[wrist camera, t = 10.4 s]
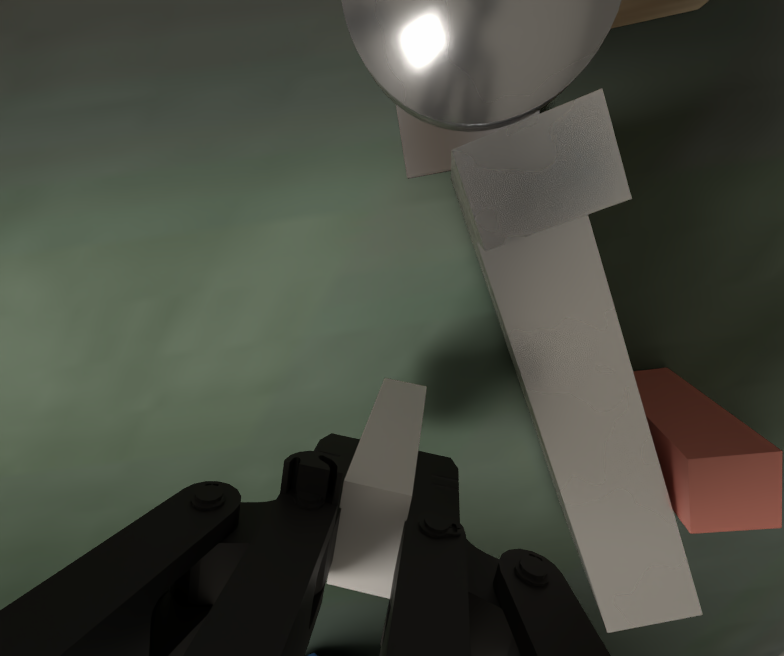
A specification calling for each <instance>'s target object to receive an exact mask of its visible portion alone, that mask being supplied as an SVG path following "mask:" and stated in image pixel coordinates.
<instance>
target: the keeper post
mask: <svg viewBox="0 0 784 656" xmlns="http://www.w3.org/2000/svg"><path fill="white" fill-rule="evenodd" d="M633 373H634V377H635V380H636V384H637V387H638V391H639V394H640V398H641V401H642V405H643V408H644V412H645V415H646V419H647V422H648V426H649V429H650V432H651V436H652V439H653V443H654V446H655V450H656V453H657V457H658V460H659V464H660V467H661V471H662V474H663V478H664V481H665V485H666V488H667V492H668V495H669V499H670V502H671V506H672V509H673V511H674V512H675V513H676V515H677V516H678V517H679V519H680V520H681V521H682V523H683V524H684V525H685V527H686V528H687V529H688V531H689V532H690V534H694V533H709V532H725V531H740V530H755V529H771V528H782V451H781V450H780V449H779V448H777V447H776V446H775V445H773V444H772V443H770V442H769V441H768V440H766V439H765V438H764V437H762V436H761V435H759V434H758V433H757V432H755V431H754V430H753V429H751V428H750V427H748V426H747V425H746V424H744V423H743V422H741V421H740V420H739V419H737V418H736V417H735V416H733V415H732V414H730V413H729V412H728V411H726V410H725V409H724V408H722V407H721V406H719V405H718V404H717V403H715V402H714V401H713V400H711V399H710V398H708V397H707V396H706V395H704V394H703V393H702V392H700V391H699V390H697V389H696V388H695V387H693V386H692V385H690V384H689V383H688V382H686V381H685V380H684V379H682V378H681V377H679V376H678V375H677V374H675V373H674V372H673V371H671V370H670V369H668V368H658V369H650V370H641V371H633Z"/></svg>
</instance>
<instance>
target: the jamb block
mask: <svg viewBox="0 0 784 656" xmlns="http://www.w3.org/2000/svg"><path fill="white" fill-rule="evenodd" d="M708 1H709V0H622V1H621V4H620V7H619V10H618V13H617V15H616V17H615V20H614V22H613V24H612V26H611V29H612V28H616V27H621V26H625V25H630V24H634V23H639V22H643V21H648V20H652V19H657V18H662V17H666V16H671V15H675V14H680V13H684V12H689V11H693V10H698V9H699V8H700V7H702V6H703V5H704V4H705V3H707V2H708ZM396 109H397V115H398V121H399V128H400V134H401V141H402V147H403V154H404V160H405V166H406V173H407V178H408V179H409V178H414V177H420V176H425V175H430V174H436V173H441V172H446V171H451V150H452V149H454V148H457V147H459V146H462V145H464V144H467V143H469V142H472V141H474V140H476V139H479V138H481V137H484V136H486V135H489V134H491V133H494V132H496V131H499V130H501V129H503V128H506V127H508V126H511V125H513V124H516V123H518V122H521V121H523V120H526V119H528V118H530V117H533V116H535V115H538V114H540V112H539V111H537V112H536V113H534V114H532V115H531V116H529V117H527V118H524V119H522V120H520V121H518V122H516V123H513V124H510V125H507V126H504V127H501V128H497V129H492V130H486V131H474V132H464V131H452V130H448V129H443V128H439V127H435V126H433V125H430V124H428V123H425V122H422V121H420V120H419V119H417V118H415V117H413V116H411V115H410V114H408V113H407V112H405V111H404V110H403V109H401V108H400V107H399V106H397V105H396Z"/></svg>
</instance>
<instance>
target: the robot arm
mask: <svg viewBox="0 0 784 656" xmlns="http://www.w3.org/2000/svg"><path fill="white" fill-rule="evenodd" d="M426 389H427V386H422V385H418V384H413V383H408V382H403V381H398V380H393V379H389V378H384V380H383V383H382V386H381V388H380V391H379V393H378V396H377V398H376V401H375V403H374V406H373V408H372V411H371V413H370V416H369V418H368V421H367V424H366V426H365V429H364V431H363V434H362V436H361V439H355V438H350V437H346V436H341V435H337V434H332V433H331V434H330V435H328V436H326V437H324V438H323V439H321V440H320V441H319V443H318V444H317V446H316V448H315V450H314V451H304V452H298V453H295V454H292V455H290V456H289V457H288V458H287V459H285V460H284V467H283V475H282V483H281V491H280V494H279V496H278V498H277V499H276V500H273V501H268V502H241V495H240V493H239V492H238V490H237V489H236V488H234V487H233V486H231V485H230V484H226V483H222V482H217V481H205V482H201V483H196V484H193V485H191V486H188V487H186V488H184V489H183V490H181V491H180V492H178V493H177V494H175V495H174V496H172V497H171V498H169V499H167V500H166V501H164V502H163V503H161V504H160V505H158V506H157V507H155V508H154V509H152V510H151V511H149V512H148V513H146V514H145V515H143V516H142V517H140V518H139V519H137V520H136V521H134V522H133V523H131V524H130V525H128V526H127V527H125V528H124V529H122V530H121V531H119V532H118V533H116V534H115V535H113V536H112V537H110V538H109V539H107V540H106V541H104V542H103V543H101V544H100V545H98V546H97V547H95V548H94V549H92V550H91V551H89V552H88V553H86V554H85V555H83V556H82V557H80V558H79V559H77V560H76V561H74V562H73V563H71V564H70V565H68V566H67V567H65V568H64V569H62V570H61V571H59V572H58V573H56V574H54V575H53V576H51V577H50V578H48V579H47V580H45V581H44V582H42V583H41V584H39V585H38V586H36V587H35V588H33V589H32V590H30V591H29V592H27V593H26V594H24V595H23V596H21V597H20V598H18V599H17V600H15V601H14V602H12V603H11V604H9V605H8V606H6V607H5V608H3V609H2V610H0V656H305V653H306V650H307V647H308V643H309V640H310V637H311V634H312V631H313V628H314V625H315V622H316V619H317V616H318V613H319V610H320V607H321V603H322V599H323V592H324V586H325V582H326V579H327V576H328V580H327V584H330V585H335V586H339V587H343V588H347V589H351V590H355V591H359V592H364V593H368V594H372V595H376V596H380V597H384V598H389V599H390V600H389V605H388V610H387V614H386V619H385V624H384V629H383V633H382V638H381V643H380V645H381V650H380V656H610V654H609V652H608V651H607V649H606V647H605V646H604V644H603V642H602V640H601V639H600V637H599V635H598V634H597V632H596V630H595V629H594V627H593V625H592V624H591V622H590V620H589V619H588V617H587V615H586V613H585V612H584V610H583V608H582V607H581V605H580V603H579V602H578V600H577V598H576V597H575V595H574V593H573V591H572V590H571V588H570V586H569V585H568V583H567V581H566V580H565V578H564V576H563V575H562V573H561V572H560V571H559V570H558V568H557V567H556V566H555V565H554V564H553V563H552V562H550V561H549V560H548V559H546V558H545V557H543V556H541V555H539V554H537V553H535V552H532V551H528V550H523V549H512V550H508V551H506V552H505V553H503V554H502V555H501V558H500V560H499V559H497V558H495V557H493V556H490V555H488V554H486V553H484V552H483V551H481V550H479V549H477V548H476V547H475V546H474V545H472V544H471V543H470V542H469V541H468V540H467V539H466V534H465V531H464V528H463V526H462V525H461V524H460V514H459V491H458V490H459V482H458V480H459V479H458V468H457V466H456V465H455V463H454V462H453V460H452V459H451V458H449V457H444V456H440V455H435V454H430V453H426V452H421V451H418V448H419V441H420V434H421V426H422V419H423V412H424V404H425V397H426ZM328 573H329V574H328Z"/></svg>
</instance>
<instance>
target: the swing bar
mask: <svg viewBox="0 0 784 656" xmlns="http://www.w3.org/2000/svg"><path fill="white" fill-rule="evenodd" d="M621 1H622V0H342V5H343V11H344V16H345V19H346V23H347V26H348V30H349V33H350V35H351V38H352V40H353V42H354V45H355V47H356V50H357V52H358V53H359V55H360V57H361V58H362V60H363V62H364V64H365V65H366V67H367V69H368V70H369V72H370V74H371V76H372V77H373V79H374V80H375V82H376V83H377V84H378V86H379V87H380V88H381V89H382V91H383V92H384V93H385V94H386V95H387V96H388V97H389V98H390V99H391V100H392V101H393V102H394V103H395V104H396V105H397V106H399V107H400V108H401V109H403V110H404V111H405V112H407V113H408V114H410V115H411V116H413V117H415V118H417V119H419V120H420V121H422V122H425V123H428V124H430V125H433V126H435V127H439V128H443V129H448V130H452V131H464V132H474V131H486V130H492V129H497V128H501V127H504V126H507V125H510V124H513V123H516V122H518V121H520V120H522V119H524V118H527V117H529V116H531V115H532V114H534V113H536V112H537V111H539V110H540V109H542V108H543V107H545V106H546V105H548V104H549V103H550V102H551V101H552V100H554V99H555V98H556V97H557V96H558V95H560V94H561V93H562V92H563V90H564V89H565V88H566V87H567V86H568V85H569V84H570V83H571V82H572V81H573V80H574V79H575V78H576V77H577V76H578V75H579V73H580V72H581V71H582V70H583V69H584V68H585V67H586V66H587V65H588V63H589V62H590V61H591V59H592V58H593V56H594V55H595V54H596V52H597V51H598V50H599V48H600V46H601V45H602V43H603V41H604V39H605V38H606V36H607V34H608V33H609V31H610V29H611V26H612V24H613V22H614V20H615V17H616V15H617V13H618V10H619V7H620V4H621ZM451 181H452V184H453V187H454V190H455V193H456V196H457V199H458V202H459V205H460V208H461V211H462V214H463V217H464V220H465V222H466V225H467V228H468V231H469V234H470V237H471V240H472V243H473V246H474V249H475V252H476V255H477V258H478V261H479V264H480V267H481V270H482V273H483V276H484V279H485V282H486V285H487V288H488V291H489V294H490V297H491V300H492V303H493V306H494V309H495V312H496V315H497V318H498V321H499V324H500V326H501V329H502V332H503V335H504V338H505V341H506V344H507V347H508V350H509V353H510V356H511V359H512V362H513V365H514V368H515V371H516V374H517V377H518V380H519V383H520V386H521V389H522V392H523V395H524V398H525V401H526V404H527V407H528V410H529V413H530V416H531V419H532V422H533V425H534V428H535V430H536V433H537V436H538V439H539V442H540V445H541V448H542V451H543V454H544V457H545V460H546V463H547V466H548V469H549V472H550V475H551V478H552V481H553V484H554V487H555V490H556V493H557V496H558V499H559V502H560V505H561V508H562V511H563V514H564V517H565V520H566V522H567V525H568V528H569V530H570V533H571V536H572V539H573V541H574V544H575V547H576V549H577V552H578V555H579V557H580V560H581V563H582V565H583V568H584V571H585V573H586V576H587V579H588V582H589V584H590V587H591V590H592V592H593V595H594V598H595V600H596V603H597V606H598V608H599V611H600V614H601V617H602V619H603V622H604V625H605V627H606V630H607V633H610V632H615V631H621V630H626V629H631V628H636V627H641V626H647V625H652V624H657V623H662V622H668V621H673V620H678V619H683V618H688V617H694V616H699V615H703V614H702V610H701V607H700V603H699V600H698V596H697V593H696V589H695V586H694V582H693V579H692V575H691V572H690V568H689V565H688V562H687V558H686V555H685V551H684V548H683V544H682V541H681V537H680V534H679V530H678V527H677V523H676V520H675V516H674V513H673V509H672V506H671V502H670V499H669V495H668V492H667V488H666V485H665V481H664V478H663V474H662V471H661V467H660V464H659V460H658V457H657V453H656V450H655V446H654V443H653V439H652V436H651V432H650V429H649V426H648V422H647V419H646V415H645V412H644V408H643V405H642V401H641V398H640V394H639V391H638V387H637V384H636V380H635V377H634V373H633V370H632V366H631V363H630V359H629V356H628V352H627V349H626V345H625V342H624V338H623V335H622V331H621V328H620V324H619V321H618V317H617V314H616V310H615V307H614V303H613V300H612V296H611V293H610V289H609V286H608V283H607V279H606V276H605V272H604V269H603V265H602V262H601V258H600V255H599V251H598V248H597V244H596V241H595V237H594V234H593V230H592V227H591V223H590V220H589V216H588V214H591V213H593V212H596V211H599V210H602V209H604V208H607V207H610V206H613V205H616V204H618V203H621V202H624V201H627V200H629V199H632V197H631V194H630V190H629V186H628V182H627V179H626V175H625V171H624V167H623V164H622V160H621V156H620V152H619V149H618V145H617V141H616V138H615V134H614V130H613V126H612V123H611V119H610V115H609V111H608V108H607V104H606V100H605V96H604V93H603V89H599V90H597V91H594V92H592V93H589V94H587V95H585V96H582V97H580V98H577V99H575V100H572V101H570V102H567V103H565V104H562V105H560V106H557V107H555V108H553V109H550V110H548V111H545V112H543V113H540V114H538V115H535V116H533V117H530V118H528V119H526V120H523V121H521V122H518V123H516V124H513V125H511V126H508V127H506V128H503V129H501V130H499V131H496V132H494V133H491V134H489V135H486V136H484V137H481V138H479V139H476V140H474V141H472V142H469V143H467V144H464V145H462V146H459V147H457V148H454V149H452V150H451Z"/></svg>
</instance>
